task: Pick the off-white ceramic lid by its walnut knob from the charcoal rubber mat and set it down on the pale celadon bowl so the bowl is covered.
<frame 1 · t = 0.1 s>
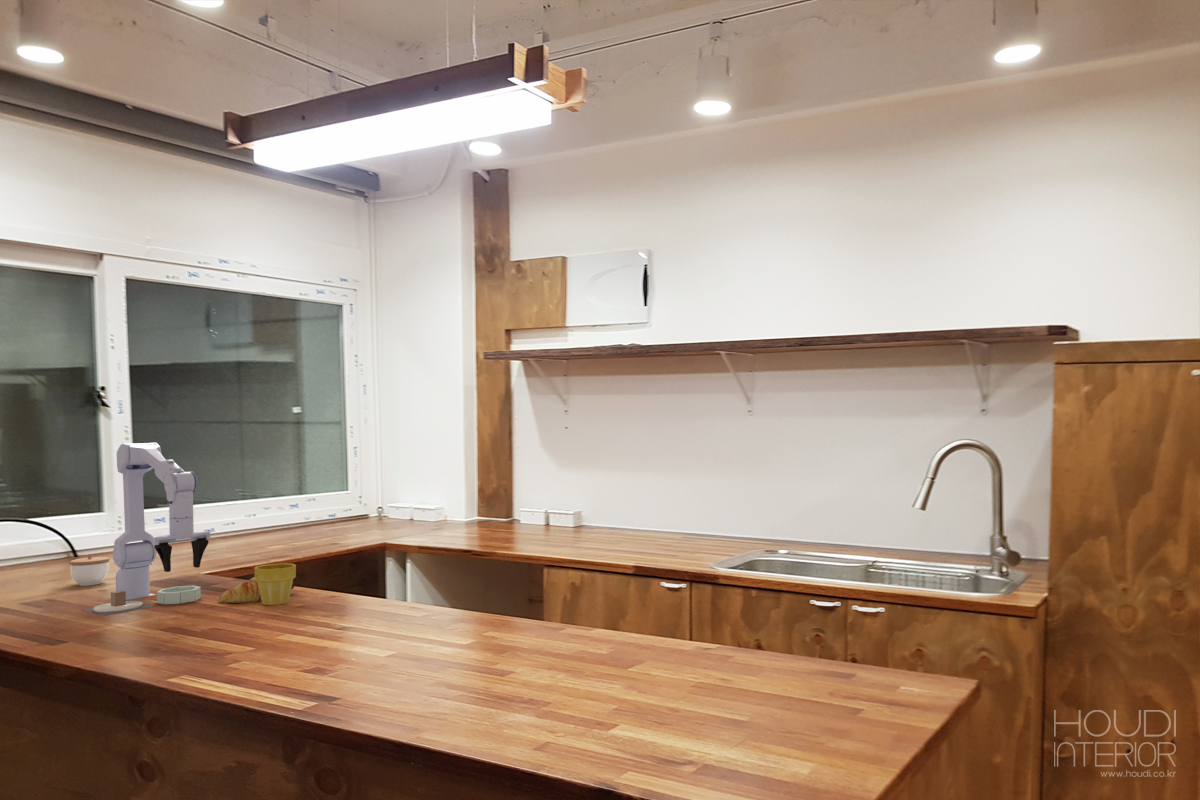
hand: (182, 569, 225), 10 cm above the counter, tool pointing down, fingers open, 7 cm apart
mat: (118, 610, 223), on the counter
croissant: (256, 600, 234), on the counter
lidded jar: (90, 584, 268), on the counter
lid: (118, 608, 223), point 1 cm above the counter, touching mat
bowl: (179, 602, 232), on the counter
plant pot: (276, 603, 227), on the counter
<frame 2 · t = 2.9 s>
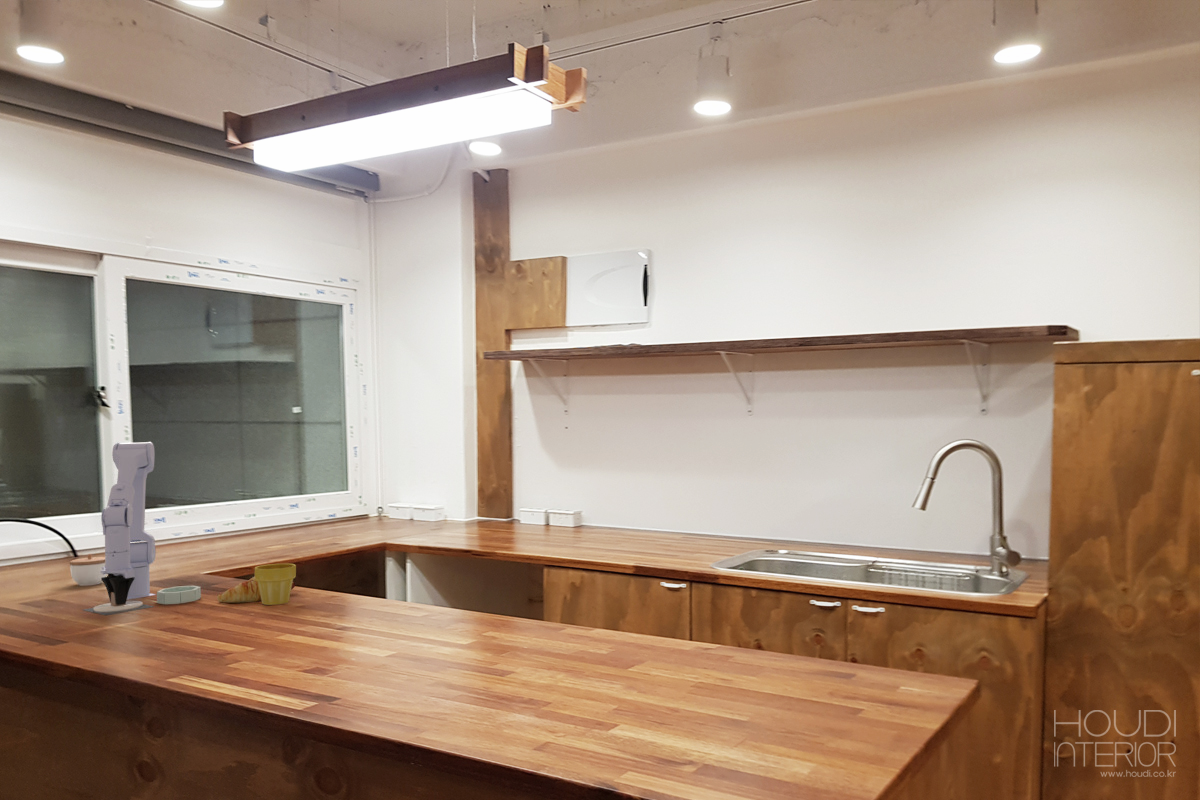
hand: (118, 603, 223), 2 cm above the counter, tool pointing down, fingers closed on lid, 3 cm apart
lid: (118, 608, 223), point 1 cm above the counter, touching gripper, mat
everything else where it was.
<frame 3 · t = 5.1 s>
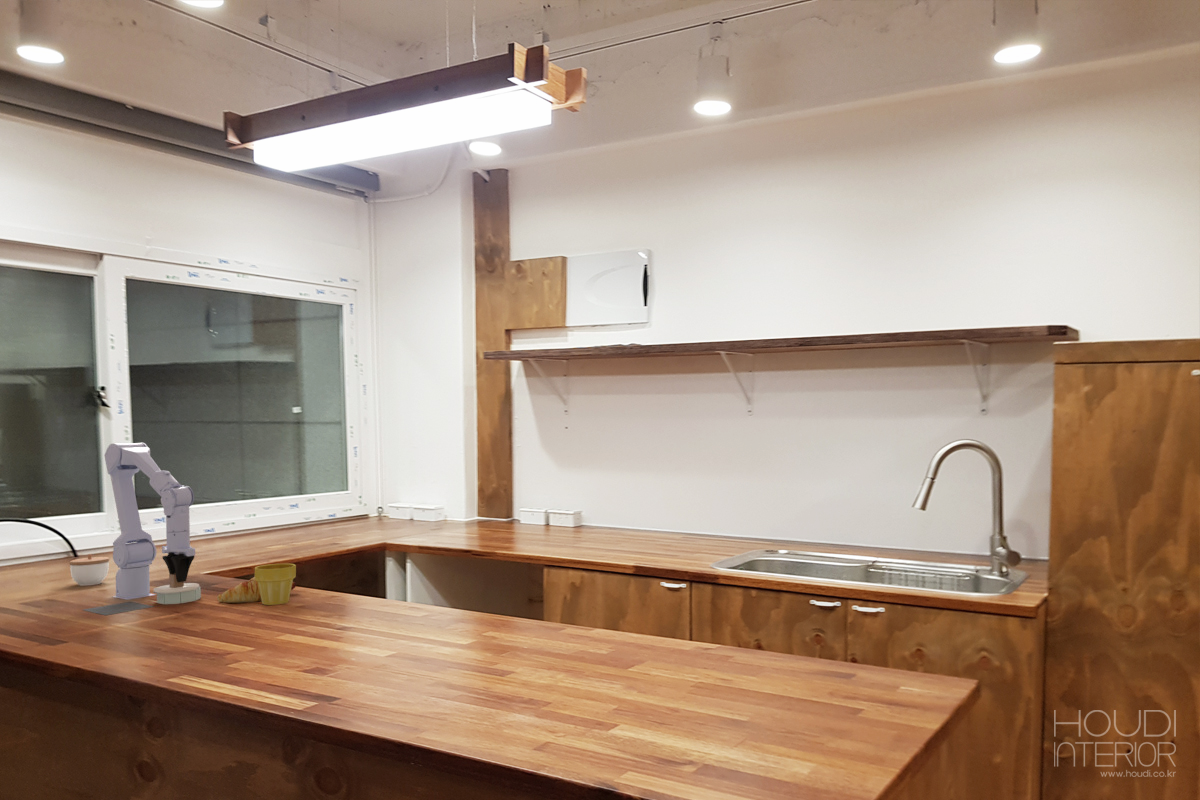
hand: (178, 581, 232), 6 cm above the counter, tool pointing down, fingers closed on lid, 3 cm apart
lid: (176, 589, 232), point 3 cm above the counter, touching bowl, gripper
everything else where it was.
when the fingers open (6 cm above the counter, at t = 5.7 s): lid stays where it is, resting on bowl.
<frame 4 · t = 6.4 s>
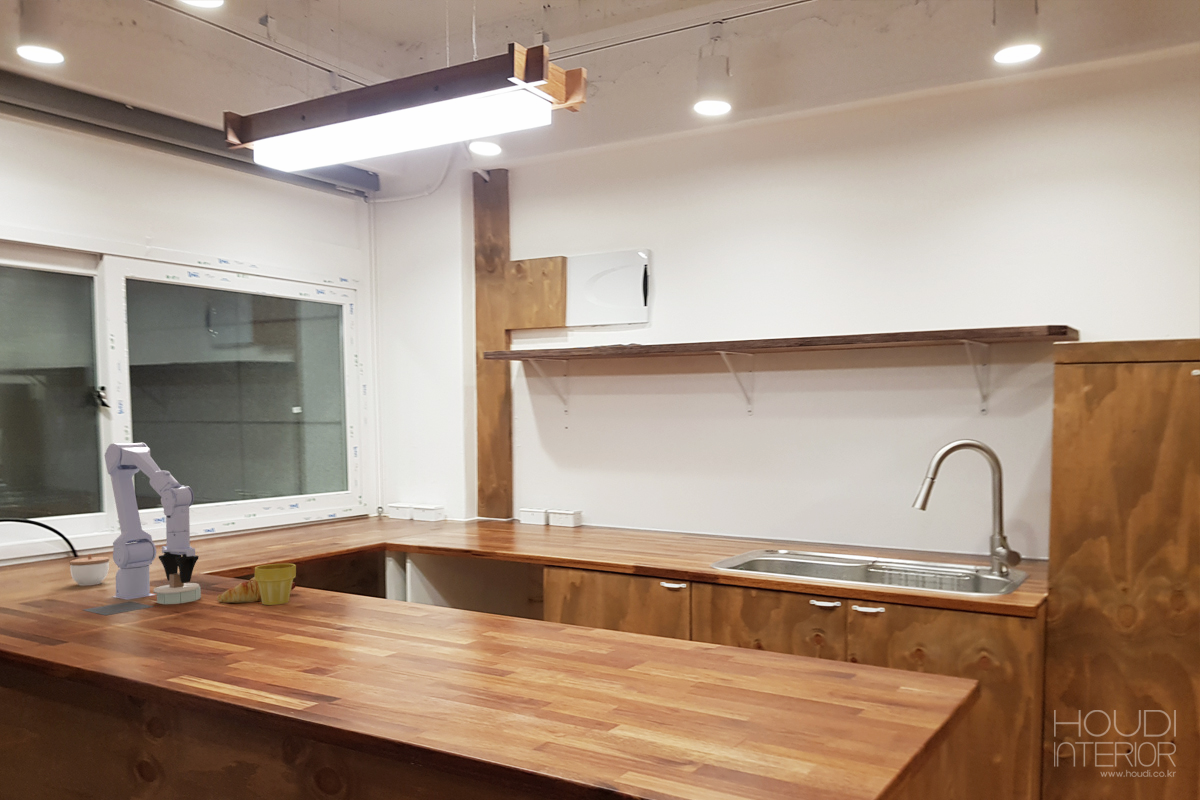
hand: (178, 581, 232), 6 cm above the counter, tool pointing down, fingers open, 7 cm apart
lid: (176, 589, 232), point 3 cm above the counter, touching bowl
everything else where it was.
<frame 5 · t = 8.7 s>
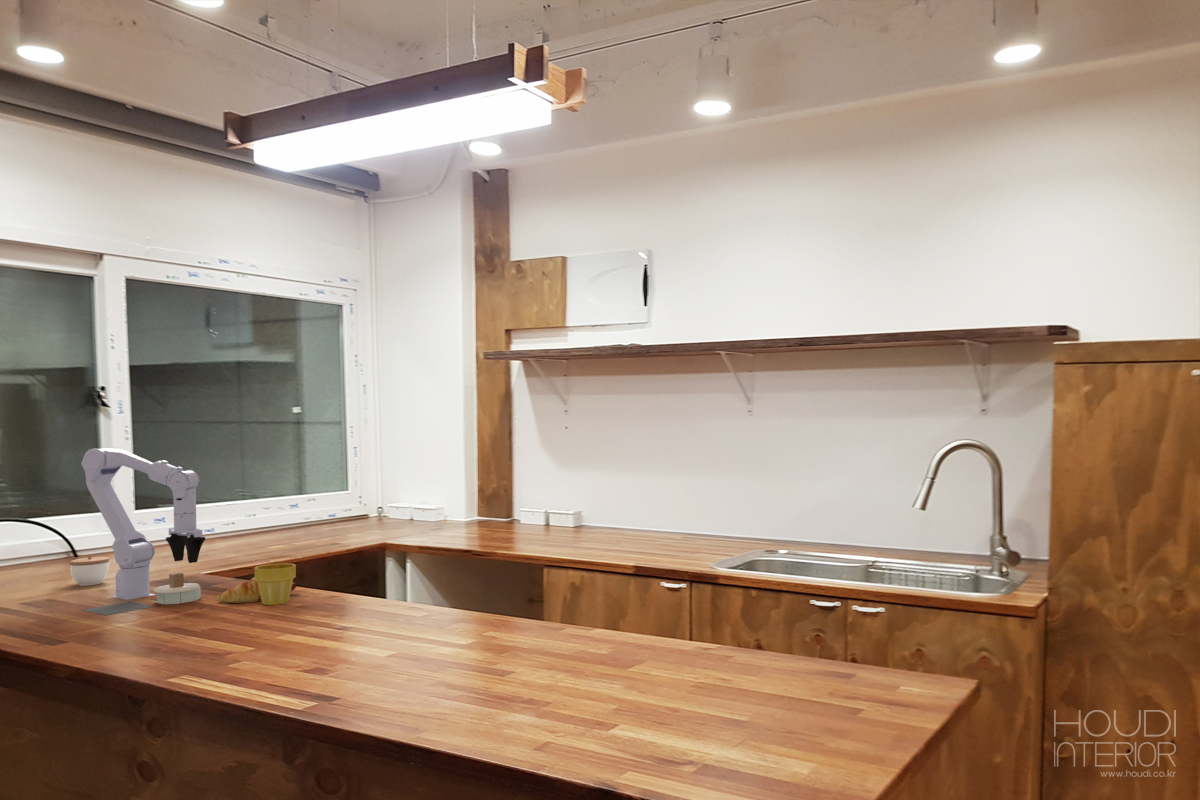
hand: (185, 561, 240), 10 cm above the counter, tool pointing down, fingers open, 7 cm apart
nothing on the counter moved.
at the end: lid 0.6 cm off-centre on the bowl, point 3.5 cm above the bowl's base; lid tilted 0°; the gripper is holding nothing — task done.
